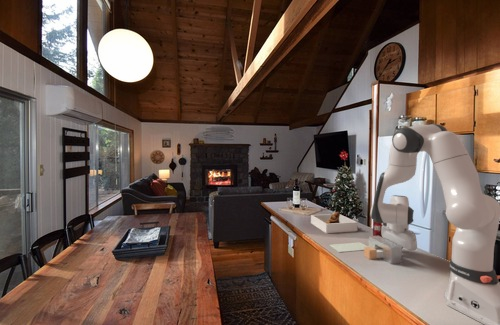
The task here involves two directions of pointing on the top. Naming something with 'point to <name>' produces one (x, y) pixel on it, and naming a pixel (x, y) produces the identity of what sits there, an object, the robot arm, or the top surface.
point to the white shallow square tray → (334, 224)
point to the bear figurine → (333, 218)
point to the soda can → (377, 229)
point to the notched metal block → (386, 249)
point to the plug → (373, 253)
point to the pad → (349, 247)
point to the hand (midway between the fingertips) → (397, 252)
